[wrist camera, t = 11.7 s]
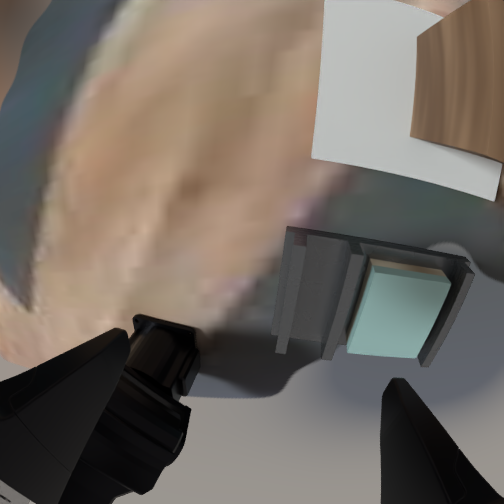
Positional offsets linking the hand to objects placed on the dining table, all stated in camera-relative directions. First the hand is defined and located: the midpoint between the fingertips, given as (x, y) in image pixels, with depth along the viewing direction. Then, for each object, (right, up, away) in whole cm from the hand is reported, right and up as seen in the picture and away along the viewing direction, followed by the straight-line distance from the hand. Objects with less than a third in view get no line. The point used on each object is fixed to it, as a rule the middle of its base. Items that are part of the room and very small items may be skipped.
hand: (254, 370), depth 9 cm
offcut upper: (+10, -1, +11) cm, 15 cm away
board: (+11, +14, +6) cm, 19 cm away
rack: (+9, 0, +13) cm, 15 cm away
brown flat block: (+11, +14, +5) cm, 18 cm away
